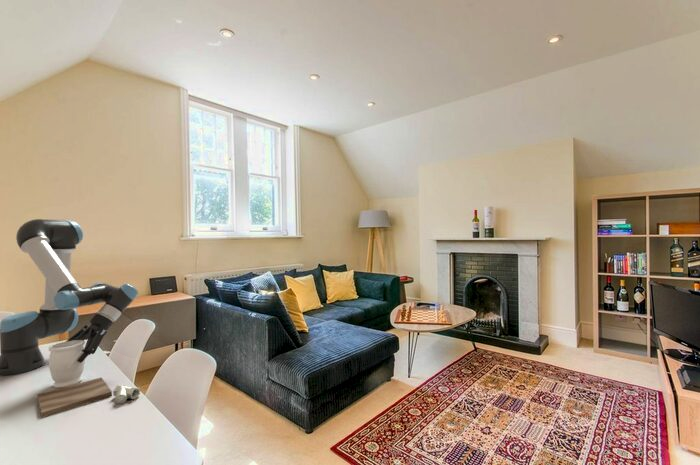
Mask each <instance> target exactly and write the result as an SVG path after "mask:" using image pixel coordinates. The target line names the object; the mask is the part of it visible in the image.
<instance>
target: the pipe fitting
mask: <svg viewBox="0 0 700 465" xmlns="http://www.w3.org/2000/svg"><path fill="white" fill-rule="evenodd" d="M140 395H141V389H140V387H130V386H126V385H116V386H115V388H114V389H113V391H112V396H113V397H115V399H114V403H116V404H117V405H120V404H125V403H126V402H127V399H130V400H135V399H137V398H138V397H139V396H140Z"/></svg>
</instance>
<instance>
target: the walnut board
mask: <svg viewBox="0 0 700 465" xmlns="http://www.w3.org/2000/svg"><path fill="white" fill-rule="evenodd" d="M112 396H113V391H112V390H111V388H110V387H109V386H108V384H107V382H105V380H104V379H103V377H97V378H94V379H90V380H85V381H81V382H79V383H77V384H74V385H71V386H67V387H61V388H55V389H52V390H49V391H44V392H42V393H38V394H37V398H36V399H37V403H38V407H39V412H40V413H39V414H40V417H41V418H44V417H48V416H51V415H53V414H57V413H61V412H64V411H67V410H71V409H73V408H77V407H81V406H84V405H87V404H89V403H93V402H96V401H100V400H103V399H106V398H110V397H112Z"/></svg>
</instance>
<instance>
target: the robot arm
mask: <svg viewBox="0 0 700 465" xmlns="http://www.w3.org/2000/svg"><path fill="white" fill-rule="evenodd" d="M83 238H84V233H83V229H82V227H81V226H80V225H79V223H77V221H73V220H68V219H66V220H65V219H42V218H39V219H38V218H37V219H31V220H29V221H26V222H24V223H23V224H22V225H21V226H19V228H18V230H17V231H16V237H15V239H16V243H17V246H18V247H19V249H20V250H21V252H23V253H25V254H28V256H29V257H30V259H31V260H32V262H33V263H34V264H35V266H36V267H37V268H38V270H39V271H40V272H41V274H42V275H43V277H44V278H45V288H44V302H43V304H42V305H41V306H39V312H38V311H36V310H29V311H25V312H19V313H15V314H12V315H11V314H10V315H8V316H6V317H5V318H3V319H2V320H1V321H0V375H5V376H11V375H18V374H22V373H26V372H30V371H33V370H36V369H39V368H40V366H41V367H42V366H44V365H45V358H44V356H43V354H42V352H41V349H40V348H39V340H42V339H46V338H50V337H54V336H57V335H62V334H64V333H68V332H71V331H72V330H73V329H74V328H75V327H76V325H77V323H78V321H79V313H78V310H77V308H83V307H86V306H92V305H97V304H102V303H104V305H102V306H101V307H100V309H99V310H98V311H97V313H96V314H94V315H93V316H92V317H91V319H90V320H89V323H90V325H87V324H86V325H84V326H83V327H81V329H80V330H78V331H77V332H75V334H73V335H72V336H71V337H70V338H68V339H67V340H66V341H65V342H67V341H74V340H84V341H86V343H85V344H84V345H85V346H84V349H83V350H82V352H80V353H79V355H78V356H77V357H76V358H75V359H74V360H73V361H72V363H71V364H70V365H69V366H68V367H67V369H69V370H71V371H73V372H74V371H75V370H76V369H77V368H78V367H79V365H80V364H81V363H82V362H83V361H84V360H85V361H86V359H87V357H88V356H90V355H94V354H95V353H96V351H97V349H98V348H99V346H100V343H101V342H102V340H103V338H104V337H105V335H106V334H107V333H108V330H109V329H110V328H111V327H112V326H113V325H114V322H116V321H117V320H118V319H119V318H120V317H121V315H122V314H123V313H124V311H126V309H127V308H128V307H129V306H130V304H132V303H133V302H134V300H135V299H136V297H137V296H138V295H139V290H138V289H137V288H135V287H134V286H132V284H131V285H130V284H128V283H123V284H122V285H120V286H119V287H117V286H115V285H112V284H111V285H110V284H108V283H104V282H103V283H102V282H96V283H94V284H92V285H91V286H89V287H88V286H87V287H81V285H80V284H79V283H78V281H77V280H76V279H75V278H74V276H73V275H72V274H71V267H72V266H71V265H72V264H71V262H72V252H73V251H75V250H76V248H77V247H76V246H77V245H79V244H80V243H81V242H82V241H83ZM83 352H84V353H83ZM43 364H44V365H43ZM35 368H36V369H35Z"/></svg>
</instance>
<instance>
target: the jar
mask: <svg viewBox="0 0 700 465" xmlns="http://www.w3.org/2000/svg"><path fill="white" fill-rule="evenodd" d="M66 341H67V340H66ZM66 341H63V342H59V343H55V344H52V345H50V346H49V347H48V351H49V352H50V353H49V358H48V368H49V371H50V376H51V379H52V380H53V382H54V383H53V384H52V386H53V388H55V389H59V388H63V387H67V386H71V385H74V384H78V383H81V382H82V381H83V377H82V374H83V372H84V368H85V362H86V359H85V360H84V361H83V362H82V363H81V364H80V365H79V367H78V368H77V369H76V370H75V371H74V372H73V371H71V370H69V369H67V367H68V366H69V365H70V364H71V363H72V361H73V360H74V359H75V358H76V357H77V356H78V355H79V353H80V352H82V350H83V349H84V348H85V346H84V345H86V343H85V341H86V340H74V341H67V342H66ZM83 353H84V352H83Z"/></svg>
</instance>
